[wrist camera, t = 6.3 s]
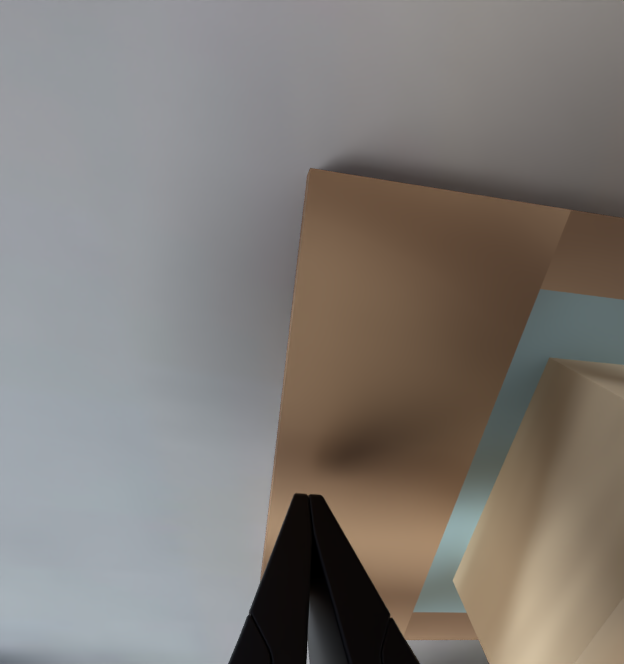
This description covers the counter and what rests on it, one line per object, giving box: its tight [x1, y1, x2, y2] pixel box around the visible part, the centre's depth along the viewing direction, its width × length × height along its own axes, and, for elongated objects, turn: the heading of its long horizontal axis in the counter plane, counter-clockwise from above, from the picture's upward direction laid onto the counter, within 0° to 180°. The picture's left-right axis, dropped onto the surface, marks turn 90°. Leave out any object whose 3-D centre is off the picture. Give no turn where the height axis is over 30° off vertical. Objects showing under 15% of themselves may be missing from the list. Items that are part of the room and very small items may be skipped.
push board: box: [260, 168, 624, 640], centre depth 12 cm, size 18×18×2 cm
